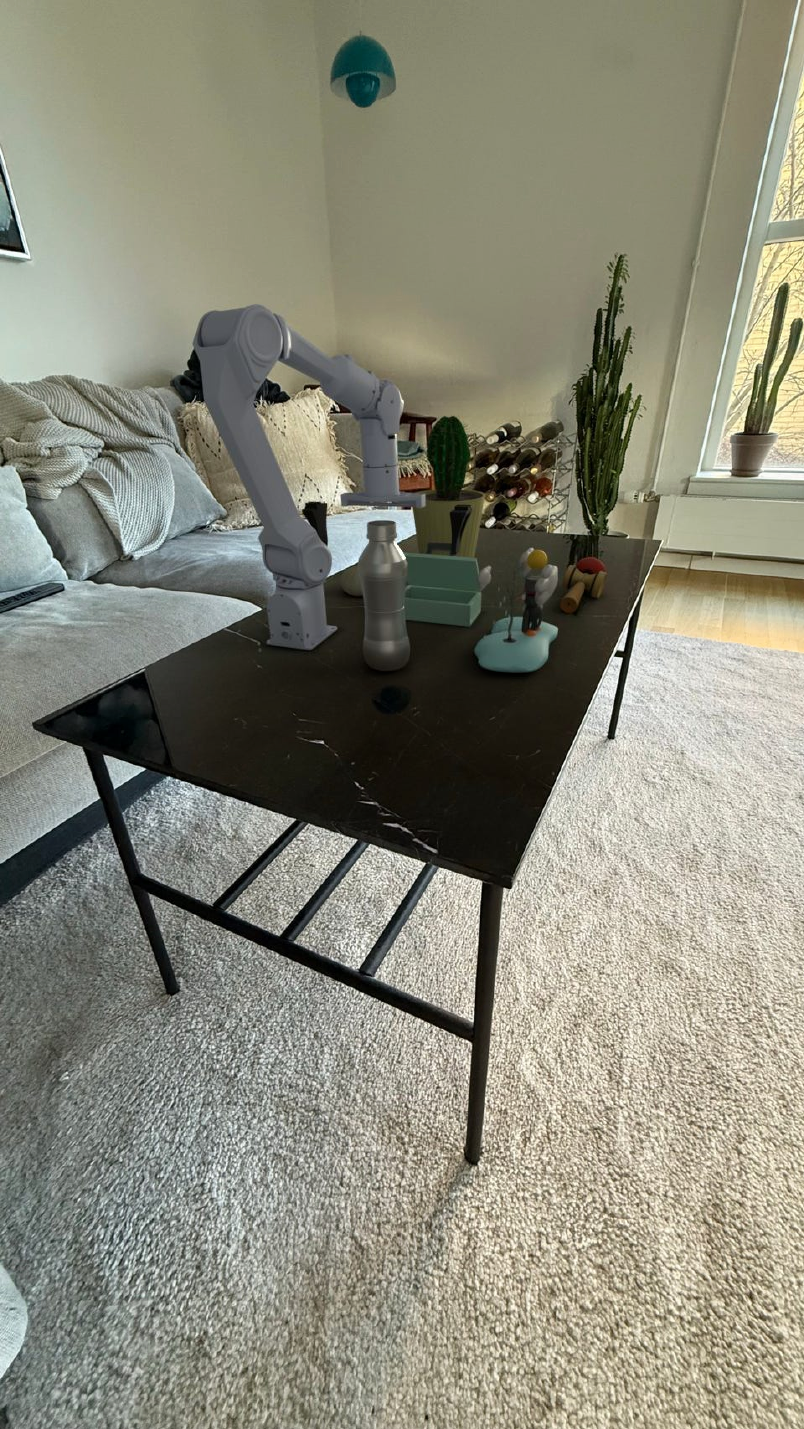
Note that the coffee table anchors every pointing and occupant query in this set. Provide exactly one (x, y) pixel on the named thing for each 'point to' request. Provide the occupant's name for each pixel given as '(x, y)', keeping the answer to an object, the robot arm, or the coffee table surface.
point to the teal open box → (442, 605)
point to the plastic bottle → (384, 598)
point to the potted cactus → (448, 490)
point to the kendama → (582, 582)
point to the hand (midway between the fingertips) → (385, 550)
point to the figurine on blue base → (521, 621)
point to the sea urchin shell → (351, 581)
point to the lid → (442, 569)
